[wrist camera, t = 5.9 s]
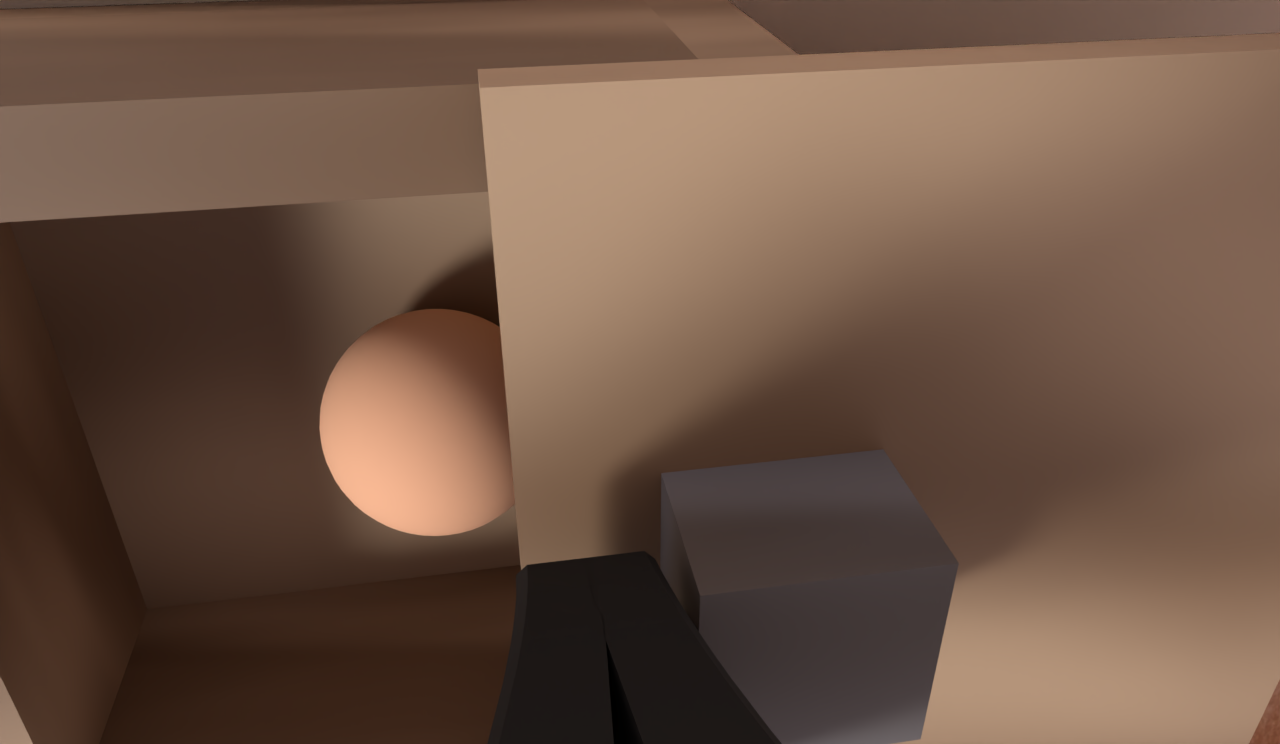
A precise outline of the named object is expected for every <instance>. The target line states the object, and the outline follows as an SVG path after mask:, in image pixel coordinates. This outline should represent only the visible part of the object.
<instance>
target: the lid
mask: <svg viewBox="0 0 1280 744" xmlns="http://www.w3.org/2000/svg"><path fill="white" fill-rule="evenodd" d="M478 81H479V92H480V104H481V115H482V127H483V138H484V150H485V161H486V173H487V184H488V196H489V207H490V219H491V230H492V242H493V253H494V265H495V277H496V288H497V300H498V311H499V323H500V334H501V346H502V357H503V369H504V380H505V392H506V403H507V415H508V426H509V438H510V449H511V461H512V472H513V484H514V496H515V507H516V519H517V530H518V542H519V553H520V565H521V570H522V569H523V568H524V567H525V566H526V565H529V564H538V563H546V562H555V561H563V560H572V559H580V558H588V557H597V556H605V555H614V554H622V553H631V552H639V551H645V552H647V553H648V554H649V555H651V556H652V557H653V558H655V559H656V561H657V563H658V565H659V567H660V569H661V571H662V573H663V575H664V576H665V578H666V580H667V582H668V583H669V585H670V587H671V589H672V590H673V592H674V594H675V595H676V597H677V599H678V600H679V602H680V603H681V605H682V607H683V608H684V610H685V611H686V613H687V614H688V616H689V618H690V619H691V621H692V622H693V624H694V625H695V627H696V628H697V630H698V631H699V633H700V634H701V636H702V637H703V639H704V640H705V642H706V643H707V645H708V646H709V648H710V649H711V650H712V652H713V653H714V655H715V656H716V658H717V659H718V660H719V662H720V663H721V665H722V666H723V667H724V669H725V670H726V672H727V673H728V674H729V676H730V677H731V679H732V680H733V681H734V682H735V684H736V685H737V686H738V688H739V689H740V690H741V692H742V693H743V694H744V696H745V697H746V698H747V700H748V701H749V702H750V703H751V705H752V706H753V707H754V709H755V710H756V711H757V713H758V714H759V715H760V717H761V718H762V719H763V721H764V722H765V723H766V724H767V726H768V727H769V728H770V730H771V731H772V732H773V733H774V735H775V736H776V737H777V738H778V740H779V741H780V742H781V743H782V744H1249V743H1250V740H1251V738H1252V736H1253V734H1254V732H1255V730H1256V728H1257V726H1258V724H1259V722H1260V720H1261V717H1262V715H1263V713H1264V711H1265V709H1266V707H1267V705H1268V703H1269V701H1270V699H1271V697H1272V694H1273V692H1274V690H1275V688H1276V686H1277V684H1278V682H1279V680H1280V33H1266V34H1244V35H1222V36H1200V37H1178V38H1156V39H1134V40H1112V41H1090V42H1068V43H1046V44H1023V45H1001V46H979V47H957V48H935V49H913V50H891V51H869V52H847V53H825V54H803V55H781V56H758V57H736V58H714V59H692V60H670V61H648V62H626V63H604V64H582V65H560V66H538V67H516V68H494V69H478Z"/></svg>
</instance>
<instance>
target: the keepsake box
mask: <svg viewBox="0 0 1280 744" xmlns="http://www.w3.org/2000/svg"><path fill="white" fill-rule="evenodd" d="M781 55H799V54H797V53H796V52H795V51H794V50H792V49H791V48H790V47H788V46H787V45H786V44H784V43H783V42H782V41H780V40H779V39H778V38H776V37H775V36H774V35H773V34H771V33H770V32H769V31H767V30H766V29H765V28H763V27H762V26H761V25H759V24H758V23H757V22H755V21H754V20H753V19H751V18H750V17H749V16H748V15H746V14H745V13H744V12H742V11H741V10H740V9H738V8H737V7H736V6H734V5H733V4H732V3H730V2H729V1H728V0H260V1H231V2H202V3H173V4H143V5H114V6H85V7H55V8H26V9H0V744H487V743H488V739H489V735H490V731H491V727H492V723H493V719H494V716H495V712H496V708H497V704H498V700H499V696H500V692H501V688H502V684H503V680H504V675H505V670H506V665H507V660H508V655H509V650H510V644H511V638H512V632H513V625H514V616H515V605H516V575H517V574H518V573H519V572H520V571H521V565H520V553H519V542H518V530H517V519H516V507H515V505H513V506H512V507H511V508H510V509H509V510H508V511H506V512H505V513H503V514H502V515H500V516H499V517H497V518H496V519H494V520H493V521H491V522H489V523H487V524H485V525H483V526H481V527H478V528H475V529H473V530H470V531H466V532H463V533H458V534H452V535H444V536H423V535H416V534H410V533H406V532H402V531H398V530H396V529H393V528H390V527H388V526H386V525H384V524H382V523H380V522H378V521H376V520H374V519H373V518H371V517H370V516H368V515H367V514H365V513H364V512H362V511H361V510H360V509H359V508H358V507H357V506H355V505H354V504H353V503H352V501H351V500H350V499H349V498H348V497H347V496H346V495H345V494H344V492H343V491H342V490H341V489H340V487H339V486H338V484H337V483H336V481H335V480H334V477H333V475H332V473H331V471H330V469H329V467H328V465H327V463H326V460H325V456H324V453H323V450H322V444H321V438H320V429H319V426H320V407H321V403H322V398H323V394H324V391H325V388H326V385H327V382H328V380H329V377H330V375H331V373H332V371H333V369H334V368H335V366H336V364H337V363H338V361H339V360H340V358H341V357H342V355H343V354H344V353H345V352H346V350H347V349H348V348H349V347H350V346H351V345H352V344H353V343H354V342H355V341H356V340H357V339H358V338H359V337H360V336H362V335H363V334H364V333H366V332H367V331H368V330H370V329H371V328H372V327H374V326H376V325H377V324H379V323H381V322H383V321H385V320H387V319H389V318H392V317H394V316H397V315H400V314H404V313H408V312H411V311H417V310H424V309H449V310H456V311H461V312H466V313H470V314H473V315H476V316H479V317H481V318H484V319H486V320H488V321H490V322H492V323H494V324H495V325H497V326H499V327H500V323H499V311H498V300H497V288H496V277H495V265H494V253H493V242H492V230H491V219H490V207H489V196H488V184H487V173H486V161H485V150H484V138H483V127H482V115H481V104H480V92H479V81H478V69H494V68H516V67H538V66H560V65H582V64H604V63H626V62H648V61H670V60H692V59H714V58H736V57H758V56H781Z"/></svg>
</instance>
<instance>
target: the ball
mask: <svg viewBox="0 0 1280 744" xmlns="http://www.w3.org/2000/svg"><path fill="white" fill-rule="evenodd" d="M319 429H320V438H321V444H322V450H323V453H324V456H325V460H326V463H327V465H328V467H329V469H330V471H331V473H332V475H333V477H334V480H335V481H336V483H337V484H338V486H339V487H340V489H341V490H342V491H343V492H344V494H345V495H346V496H347V497H348V498H349V499H350V500H351V501H352V503H353V504H354V505H355V506H357V507H358V508H359V509H360V510H361V511H362V512H364V513H365V514H367V515H368V516H370V517H371V518H373V519H374V520H376V521H378V522H380V523H382V524H384V525H386V526H388V527H390V528H393V529H396V530H398V531H402V532H406V533H410V534H416V535H423V536H444V535H452V534H458V533H463V532H466V531H470V530H473V529H475V528H478V527H481V526H483V525H485V524H487V523H489V522H491V521H493V520H494V519H496V518H497V517H499V516H500V515H502V514H503V513H505V512H506V511H508V510H509V509H510V508H511V507H512V506H513V505H515V496H514V484H513V472H512V461H511V449H510V438H509V426H508V415H507V403H506V392H505V380H504V369H503V357H502V346H501V334H500V327H499V326H497V325H495V324H494V323H492V322H490V321H488V320H486V319H484V318H481V317H479V316H476V315H473V314H470V313H466V312H461V311H456V310H449V309H424V310H417V311H411V312H408V313H404V314H400V315H397V316H394V317H392V318H389V319H387V320H385V321H383V322H381V323H379V324H377V325H376V326H374V327H372V328H371V329H370V330H368V331H367V332H366V333H364V334H363V335H362V336H360V337H359V338H358V339H357V340H356V341H355V342H354V343H353V344H352V345H351V346H350V347H349V348H348V349H347V350H346V352H345V353H344V354H343V355H342V357H341V358H340V360H339V361H338V363H337V364H336V366H335V368H334V369H333V371H332V373H331V375H330V377H329V380H328V382H327V385H326V388H325V391H324V394H323V398H322V403H321V407H320V426H319Z"/></svg>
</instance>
